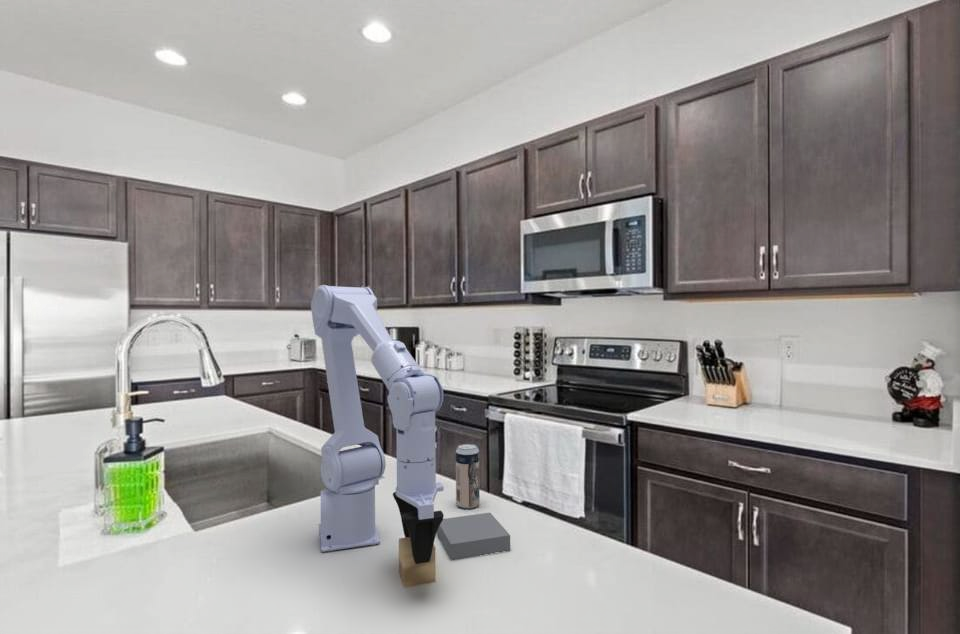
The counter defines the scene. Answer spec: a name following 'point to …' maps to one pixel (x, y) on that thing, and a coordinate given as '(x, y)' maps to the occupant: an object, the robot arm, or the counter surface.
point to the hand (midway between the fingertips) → (417, 549)
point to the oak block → (414, 566)
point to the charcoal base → (473, 536)
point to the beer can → (467, 476)
